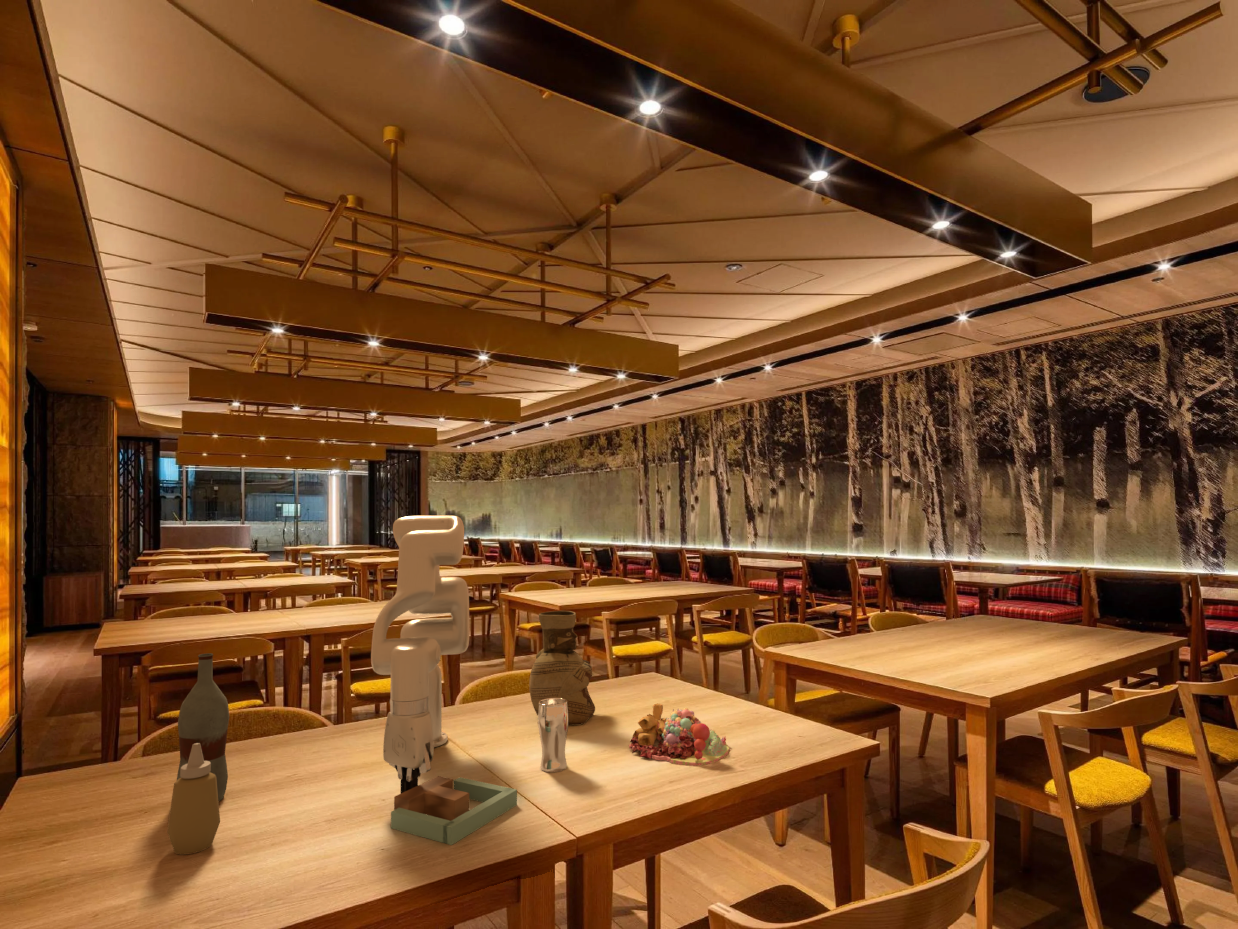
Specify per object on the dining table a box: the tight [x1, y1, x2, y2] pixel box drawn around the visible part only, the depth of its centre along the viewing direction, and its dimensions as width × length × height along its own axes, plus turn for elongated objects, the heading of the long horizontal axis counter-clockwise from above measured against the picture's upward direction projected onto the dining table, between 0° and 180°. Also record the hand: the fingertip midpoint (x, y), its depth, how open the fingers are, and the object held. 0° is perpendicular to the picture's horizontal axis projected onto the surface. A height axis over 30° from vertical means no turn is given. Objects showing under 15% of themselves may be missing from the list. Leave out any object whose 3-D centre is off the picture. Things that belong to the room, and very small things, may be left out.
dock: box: [390, 776, 518, 846], centre depth 134 cm, size 15×19×3 cm
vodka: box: [175, 652, 230, 802], centre depth 144 cm, size 9×9×30 cm
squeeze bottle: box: [167, 743, 221, 855], centre depth 123 cm, size 8×8×18 cm
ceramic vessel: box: [528, 610, 596, 726], centre depth 199 cm, size 19×21×30 cm
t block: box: [393, 775, 470, 821], centre depth 136 cm, size 12×12×4 cm
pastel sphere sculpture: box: [628, 703, 730, 767], centre depth 172 cm, size 25×24×9 cm
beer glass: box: [537, 698, 569, 773], centre depth 159 cm, size 7×7×15 cm
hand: (409, 798), depth 139 cm, fingers closed
